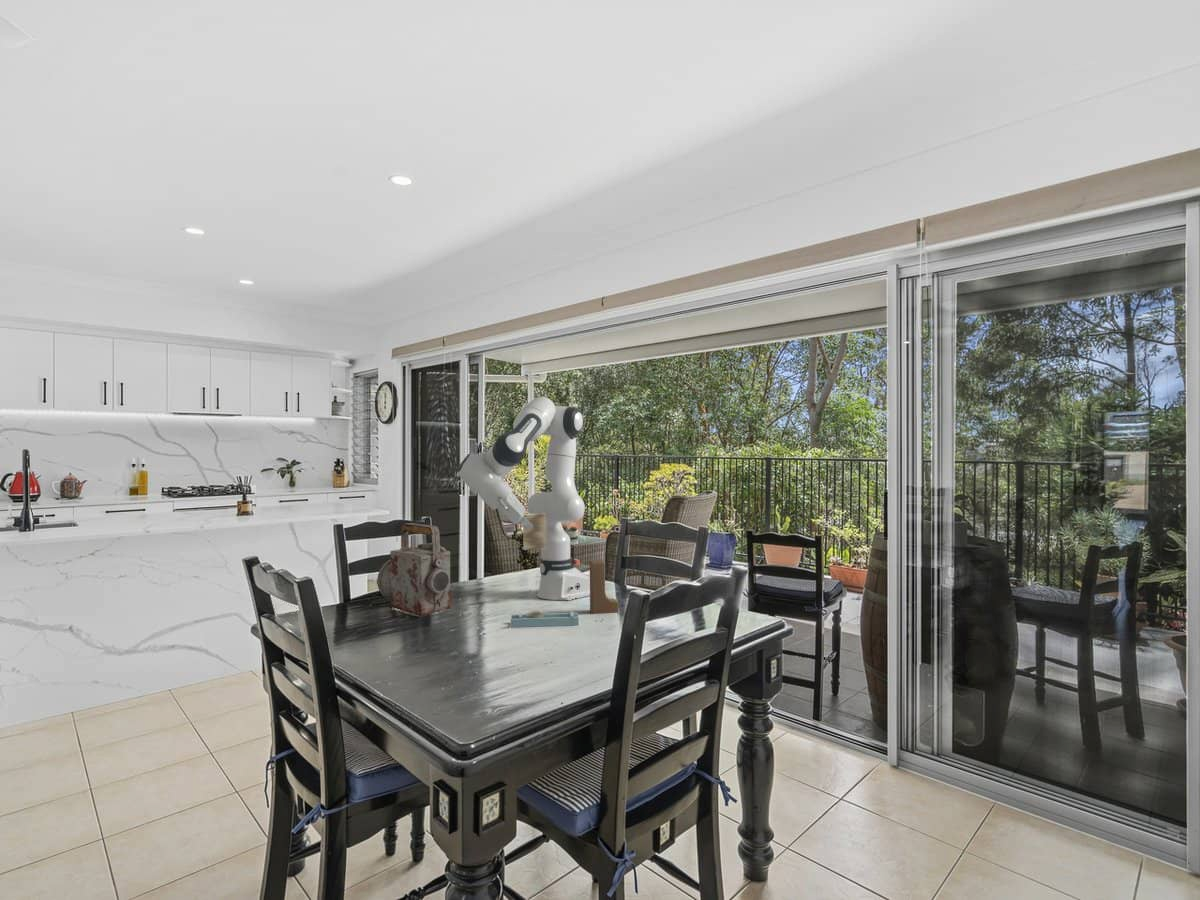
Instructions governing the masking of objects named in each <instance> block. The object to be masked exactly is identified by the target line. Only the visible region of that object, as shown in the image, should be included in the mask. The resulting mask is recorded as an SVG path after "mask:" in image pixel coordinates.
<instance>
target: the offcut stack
mask: <svg viewBox="0 0 1200 900" xmlns="http://www.w3.org/2000/svg"><path fill="white" fill-rule="evenodd" d="M525 614H526V617H524V618H543V614H544V610H526V611H525Z"/></svg>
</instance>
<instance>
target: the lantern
mask: <svg viewBox="0 0 1200 900" xmlns="http://www.w3.org/2000/svg"><path fill="white" fill-rule="evenodd" d="M439 529H440V528H439V527H438V526H437V525H430V524H423V523H413V522H407V523H403V524H402V525H401V531H400V533H401V534H400V544H401V545H400V548H399V549H394V550H390V553H389V557H390V559H389V560H387V561H386V562H384V564H383V565H382V566H381V567H380V569H379V571H378V574H377V578H376V584H377V588H378V590H379V592H380V593H381V595H382V596H383V597H385V598H387V599H390V602H391V603H390V608H391V607H394V608H397V609H400V610H403V611H406V612H409V613H413V614H416V615H419V616H423V615H426V614H431V613H435V612H440V611H443V610H447V609H450V608H452V607H451V606H452V605H451V551H450V550H446V548H445V546H444V547H443V546H442V545H441V539H440V530H439ZM409 533H413V534H420V535H427V536H432V541H431V542H429V543H428V542H427V543H421V544H417V546H415V547H409V545H410V543H409Z"/></svg>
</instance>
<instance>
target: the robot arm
mask: <svg viewBox="0 0 1200 900" xmlns="http://www.w3.org/2000/svg"><path fill="white" fill-rule="evenodd" d="M512 427H513V429H512V430H511V431H508V432H505V433H502V434H501V435H499V437H497V438H496V440H495V441H494V443H493V444H492V445H491V447H489V449H488V450H487V451H485V452H481V453H472V452H470V453H468V454H467V455H466V456H465V457H464V459H463V460H462V461H461V463H460V464H459V465H458V467H457V475H458V476H459V478H460V479H461V480H462V481H463V482H464V484H465V485H467V487H468V488H469V489H471V491H473V492H475V493H476V494H477V495H478V496H479V497H480V498H481V500H482V501H483V502H484V503H485V504H486V505H488V507H489V508H490V509H491V510H493V511H495V510H498V511H500V512H502V514H503V515H504V516H506V517H507V519H508V520H510V522H511V523H513V524H514V525H517V524H518V523H520V524H521V525H522V526H523V525H524V526H525V527H526V528H527V529H529V530H531V528H532V527H533V525H532V524H531V523H530V522H529V521H528V520H527V519H526V518H525V517H524V514H526V510H527V512H528V513H527V514H541V513H546V550H540V555H541V557H540V559H539V560H540V561H539V569H540V570H539V571H540V573H539V574H540V580H539V588H538V591H537V597H538V598H540V599H543V600H550V601H551V600H555V601H565V600H566V601H567V600H568V601H571V600H572V599H573V600H576V599H575V598H577V599H581V598H584V597H585V596H586V597H590V578H589V577H588V576H587V575H586V574H585V573H583V572H582V571H580V570H579V569H578V568H577V567H576V566H575V565H577V566H579V564H580V562H581V561H580V559H577V558H572V556H571V537H570V535H569V534H568V533H567V532H566V531H565V530H564V527H563V525H562V523H564V524H571V523H575V522H576V523H577V522H579V521H580V520H581V519H582V518H583V517H584V514H585V511H586V506H585V502H584V500H583V498H582V497H581V496H580V495H579V493H578V491H577V487H576V483H575V468H576V459H577V438H576V437H577V436H578V435H579V434H580V432H581V431H582V429H583V427H584V416H583V413H582V412H581V410H580V409H579V408H577V407H574V406H564V405H563V406H561V405H555V403H554V402H553V401H552V400H551V399H550V398H549V397H546V396H538V397H536V398H534V399H532V400H531V401H530V402H528V403H527V404H526V405H525V406H523V408H522V409H521V410H520V411H519V413H518V414H517V415H516V417H515V419H514V421H513V423H512ZM542 435H543V436H549V437H550V438H549V441H548V447H547V453H546V459H545V460H546V461H545V469H544V470H545V471H544V476H545V478H546V479H547V480H548V481H549V482H550V485H551V492H549V491H548V492H547V491H541V492H538V493H533V494H532V495H531V496H529V498H528V500H527V505H526V507H525V506H524V505H523V504H522V503H521V501H520V500H519V499H518V497H517V496H516V495H515V494H513V492H514V489H513V488H512V487H511V485H509V484H508V483H507V482H506V481H505V480H503V479H504V478H505V477H506V476H507V475H508V474H509V473H510V472H511V471H512V470H513V469H514V468H515V467H516V466H517V465H518V464H519V463H520V462H521V461H523V460H524V459H525V456H526V454H527V448H528V444H529V442H534V441H535V440H537V439H539V438H540V437H541V436H542Z"/></svg>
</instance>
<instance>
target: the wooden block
mask: <svg viewBox="0 0 1200 900" xmlns="http://www.w3.org/2000/svg"><path fill="white" fill-rule="evenodd" d="M589 583H590V596H589V612H590V613H591V614H592V615H597V614H598V615H600V614H619V602H618V600H617V599H616V598H611V597H608V596H607V594H606V563H605V561H604V560H601V559H600V560H590V561H589Z"/></svg>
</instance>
